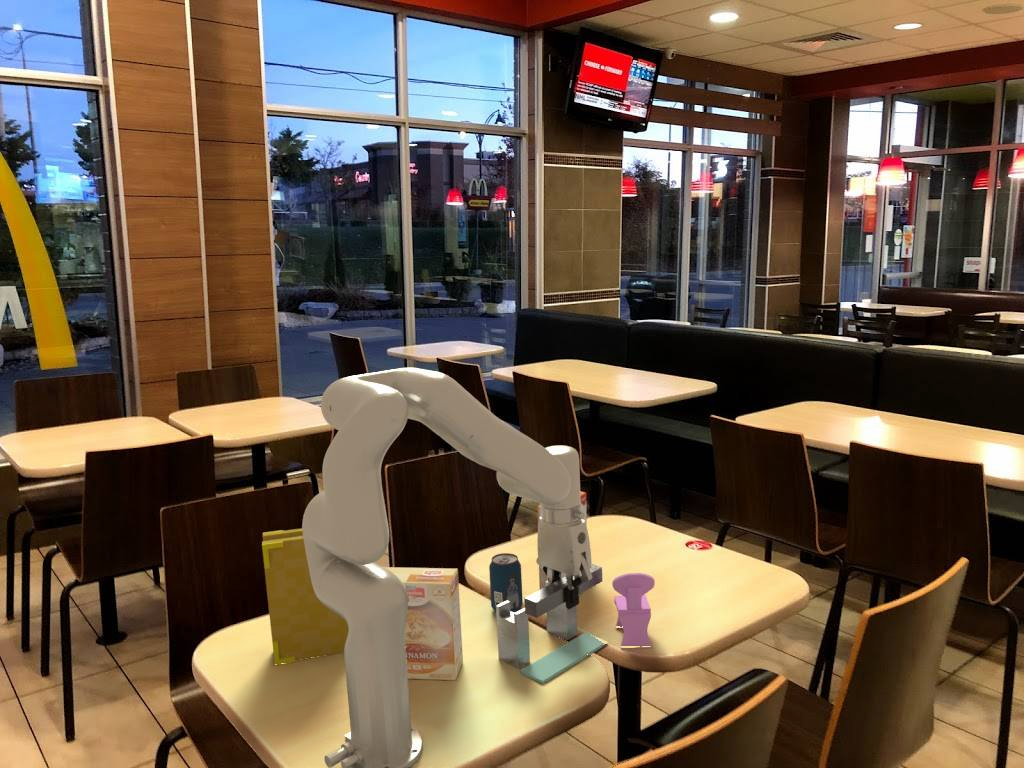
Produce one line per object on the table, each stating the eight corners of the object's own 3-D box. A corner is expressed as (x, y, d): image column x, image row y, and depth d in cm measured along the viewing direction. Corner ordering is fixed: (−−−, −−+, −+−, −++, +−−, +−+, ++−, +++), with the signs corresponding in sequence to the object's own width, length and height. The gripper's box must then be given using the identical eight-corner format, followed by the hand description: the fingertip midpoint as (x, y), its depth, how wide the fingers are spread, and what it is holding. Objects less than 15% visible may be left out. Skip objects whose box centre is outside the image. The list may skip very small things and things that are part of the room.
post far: (567, 640, 162) (566, 589, 160) (547, 631, 165) (545, 581, 163) (577, 634, 164) (575, 584, 162) (556, 626, 168) (555, 576, 166)
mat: (542, 684, 146) (542, 681, 146) (520, 673, 150) (520, 670, 150) (607, 643, 159) (607, 641, 159) (585, 634, 163) (585, 632, 163)
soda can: (502, 600, 180) (499, 549, 178) (528, 606, 177) (526, 555, 175) (485, 613, 175) (482, 561, 172) (512, 619, 171) (510, 567, 169)
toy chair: (649, 625, 166) (649, 557, 163) (657, 647, 157) (656, 575, 155) (609, 627, 166) (608, 559, 163) (615, 649, 157) (613, 577, 155)
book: (274, 665, 157) (261, 544, 152) (275, 649, 163) (262, 532, 158) (362, 650, 161) (352, 532, 156) (359, 635, 167) (349, 521, 163)
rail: (536, 618, 145) (536, 602, 145) (525, 613, 147) (524, 597, 147) (602, 581, 158) (601, 567, 158) (590, 577, 160) (590, 563, 160)
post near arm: (519, 668, 152) (516, 614, 150) (498, 658, 156) (496, 605, 154) (530, 662, 154) (527, 608, 152) (509, 652, 158) (507, 600, 156)
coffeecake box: (378, 678, 150) (370, 581, 147) (389, 658, 157) (381, 565, 154) (456, 681, 148) (450, 583, 145) (463, 661, 155) (458, 566, 152)
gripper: (608, 515, 146) (611, 608, 150) (542, 497, 158) (546, 584, 161) (581, 528, 141) (585, 624, 145) (515, 508, 152) (520, 598, 156)
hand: (565, 602), depth 153 cm, fingers closed on rail, 3 cm apart
